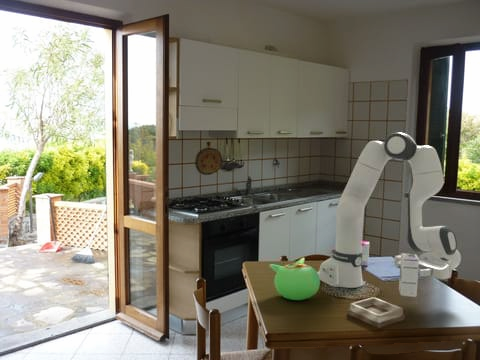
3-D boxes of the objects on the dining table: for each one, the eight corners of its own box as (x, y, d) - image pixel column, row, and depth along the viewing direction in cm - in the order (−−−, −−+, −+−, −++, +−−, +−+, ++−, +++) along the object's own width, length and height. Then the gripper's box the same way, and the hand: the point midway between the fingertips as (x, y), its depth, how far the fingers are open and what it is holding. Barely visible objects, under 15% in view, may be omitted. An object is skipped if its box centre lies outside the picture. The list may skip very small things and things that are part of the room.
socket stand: (347, 313, 168) (348, 303, 167) (372, 306, 176) (373, 296, 175) (378, 328, 156) (379, 317, 156) (404, 319, 164) (405, 308, 164)
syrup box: (416, 297, 166) (420, 258, 164) (399, 295, 167) (402, 256, 165) (414, 291, 172) (417, 253, 170) (397, 290, 173) (400, 252, 171)
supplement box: (368, 263, 232) (369, 241, 231) (367, 266, 227) (369, 244, 225) (356, 262, 234) (358, 240, 233) (355, 265, 228) (357, 242, 227)
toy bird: (285, 308, 171) (286, 270, 170) (265, 292, 187) (267, 257, 185) (326, 303, 178) (328, 266, 176) (304, 288, 193) (306, 254, 192)
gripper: (407, 249, 184) (385, 253, 176) (456, 262, 167) (434, 268, 160) (406, 264, 185) (384, 269, 177) (454, 279, 168) (432, 285, 160)
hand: (408, 269), depth 168 cm, fingers closed on syrup box, 8 cm apart
